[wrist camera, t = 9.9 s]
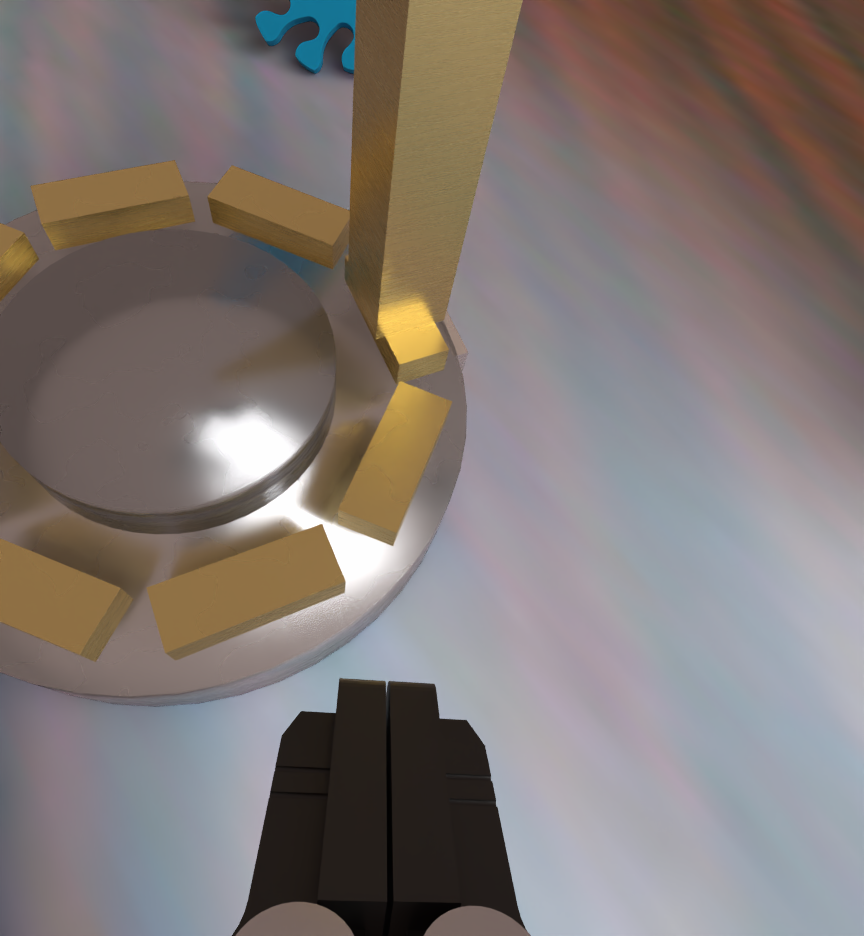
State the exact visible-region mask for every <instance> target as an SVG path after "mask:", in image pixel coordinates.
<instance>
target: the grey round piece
mask: <svg viewBox="0 0 864 936" xmlns="http://www.w3.org/2000/svg"><path fill="white" fill-rule="evenodd" d="M217 184H218V183H200V182H184V185H185V187H186V190H187V192H188V195H189V198H190V202H191V206H192V210H193V214H194V218H195V222H191V223H186V224H181V225H176V226H171V227H166V228H162V229H157V230H149V231H142V232H135V233H129V234H125V235H120V236H116V237H112V238H108V239H105V240H102V241H99V242H94V243H89V244H84V245H79V246H75V247H70V248H65V249H60V250H55V249H54V247H53V245H52V243H51V241H50V239H49V237H48V235H47V234H46V232H45V230H44V228H43V226H42V224H41V221H40V217H39V214H38V210H36V211H34V212H32V213H29V214H27V215H24V216H22V217H20V218H17V219H15V220H13V221H11V222H9V223H8V224H6V226H9V227H11V228H14V229H16V230H19V231H21V232H24V233H25V235H26V237H27V239H28V240H29V242H30V244H31V246H32V247H33V249H34V251H35V253H36V254H37V256H38V258H39V260H38V261H37V262H36V263H35V264H34V265H33V266H32V267H31V269H30V270H29V271H28V272H27V273H26V274H25V275H24V276H23V277H22V278H21V280H20V281H19V282H18V283H17V284H16V285H15V286H14V287H13V288H12V289H11V291H10V292H9V293H8V294H7V295H6V296H5V297H4V298H3V299H2V300H1V301H0V538H1V539H3V540H6V541H8V542H11V543H13V544H15V545H18V546H20V547H23V548H25V549H28V550H30V551H32V552H35V553H37V554H40V555H42V556H44V557H47V558H49V559H52V560H54V561H57V562H59V563H61V564H64V565H66V566H69V567H71V568H74V569H76V570H78V571H81V572H83V573H86V574H88V575H91V576H93V577H95V578H98V579H100V580H103V581H105V582H108V583H110V584H112V585H115V586H117V587H120V588H121V589H123V590H124V591H125V592H126V593H127V594H128V595H129V596H131V597H132V598H133V599H134V600H133V601H132V603H131V604H130V606H129V608H128V609H127V611H126V613H125V614H124V616H123V618H122V619H121V621H120V623H119V624H118V626H117V628H116V629H115V631H114V633H113V634H112V636H111V638H110V639H109V641H108V643H107V644H106V646H105V648H104V649H103V651H102V653H101V654H100V656H99V658H98V659H97V661H96V662H94V661H92V660H89V659H87V658H84V657H82V656H80V655H77V654H75V653H72V652H70V651H68V650H65V649H63V648H60V647H58V646H56V645H53V644H51V643H48V642H46V641H44V640H41V639H39V638H36V637H34V636H32V635H29V634H27V633H24V632H22V631H20V630H17V629H15V628H12V627H10V626H8V625H5V624H3V623H0V672H1V673H4V674H7V675H9V676H12V677H15V678H18V679H21V680H23V681H26V682H29V683H32V684H35V685H38V686H42V687H45V688H49V689H52V690H55V691H59V692H62V693H65V694H69V695H72V696H76V697H81V698H86V699H91V700H96V701H101V702H106V703H111V704H122V705H138V706H154V707H157V706H172V705H186V704H199V703H204V702H209V701H214V700H218V699H223V698H228V697H233V696H238V695H242V694H245V693H248V692H251V691H254V690H257V689H260V688H262V687H265V686H268V685H271V684H274V683H277V682H280V681H282V680H284V679H286V678H288V677H290V676H292V675H294V674H296V673H298V672H300V671H303V670H305V669H307V668H309V667H311V666H313V665H315V664H317V663H318V662H320V661H321V660H323V659H324V658H326V657H327V656H329V655H330V654H332V653H334V652H335V651H337V650H338V649H340V648H341V647H343V646H344V645H346V644H347V643H349V642H350V641H351V640H352V639H353V638H355V637H356V636H357V635H358V634H359V633H361V632H362V631H363V630H364V629H365V628H366V627H368V626H369V625H370V624H371V623H372V622H373V621H375V620H376V619H377V618H378V617H379V616H380V615H381V614H382V612H383V611H384V610H385V609H386V608H387V607H388V606H389V605H390V604H391V603H392V601H393V600H394V599H395V598H396V597H397V596H398V595H399V594H400V593H401V591H402V590H403V589H404V587H405V586H406V584H407V583H408V581H409V580H410V578H411V577H412V575H413V574H414V573H415V571H416V570H417V568H418V567H419V565H420V564H421V562H422V560H423V558H424V556H425V554H426V552H427V550H428V548H429V546H430V544H431V542H432V540H433V538H434V536H435V534H436V532H437V530H438V527H439V525H440V523H441V520H442V518H443V516H444V513H445V511H446V509H447V506H448V504H449V501H450V498H451V496H452V493H453V490H454V487H455V484H456V481H457V478H458V475H459V472H460V467H461V462H462V456H463V451H464V445H465V439H466V413H467V405H466V397H465V388H464V380H463V374H462V370H463V367H464V364H465V361H466V357H467V354H468V351H467V349H466V347H465V345H464V343H463V341H462V339H461V338H460V336H459V334H458V332H457V330H456V328H455V326H454V324H453V322H452V320H451V318H450V316H449V314H448V312H447V310H446V314H445V319H444V320H443V321H440V322H436V323H435V324H436V326H437V328H438V330H439V332H440V333H441V335H442V337H443V339H444V341H445V343H446V345H447V346H448V348H449V352H448V356H447V359H446V363H445V367H444V370H442V371H439V372H435V373H432V374H429V375H426V376H423V377H419V378H416V379H413V380H410V381H406V382H404V383H407V384H409V385H412V386H414V387H417V388H419V389H422V390H424V391H427V392H429V393H432V394H434V395H437V396H440V397H442V398H445V399H447V400H450V401H452V404H451V408H450V411H449V414H448V417H447V420H446V422H445V425H444V427H443V430H442V432H441V434H440V437H439V439H438V441H437V444H436V446H435V448H434V451H433V453H432V456H431V458H430V460H429V463H428V465H427V467H426V470H425V472H424V474H423V477H422V479H421V482H420V484H419V486H418V489H417V491H416V493H415V496H414V498H413V500H412V503H411V505H410V508H409V510H408V512H407V515H406V517H405V519H404V522H403V524H402V527H401V529H400V531H399V534H398V536H397V538H396V541H395V543H394V545H393V546H391V545H388V544H386V543H383V542H381V541H378V540H376V539H373V538H371V537H368V536H366V535H364V534H361V533H359V532H356V531H354V530H351V529H349V528H346V527H344V526H341V525H339V524H338V509H339V507H340V505H341V503H342V500H343V498H344V496H345V494H346V492H347V490H348V488H349V486H350V484H351V482H352V480H353V478H354V475H355V473H356V471H357V469H358V467H359V465H360V463H361V461H362V459H363V457H364V455H365V453H366V450H367V448H368V446H369V444H370V442H371V440H372V438H373V436H374V434H375V432H376V430H377V428H378V425H379V423H380V421H381V419H382V417H383V415H384V413H385V411H386V409H387V407H388V405H389V403H390V401H391V398H392V396H393V394H394V392H395V390H396V388H397V386H398V384H397V385H396V383H395V381H394V379H393V377H392V375H391V373H390V371H389V369H388V367H387V365H386V363H385V361H384V359H383V357H382V355H381V353H380V351H379V349H378V347H377V345H376V343H375V341H374V339H373V337H372V334H371V332H370V330H369V328H368V326H367V324H366V322H365V320H364V318H363V316H362V314H361V312H360V310H359V308H358V306H357V304H356V302H355V300H354V298H353V296H352V294H351V292H350V290H349V288H348V286H347V284H346V282H345V280H344V276H345V256H346V255H349V244H348V245H347V247H346V249H345V250H344V252H343V254H342V255H341V257H340V258H339V260H338V262H337V263H336V265H335V267H334V268H333V269H330V268H328V267H325V266H323V265H320V264H318V263H315V262H312V261H310V260H307V259H305V258H302V257H300V256H297V255H294V254H292V253H289V252H287V251H284V250H282V249H279V248H276V247H274V246H271V245H269V244H266V243H264V242H261V241H259V240H256V239H253V238H251V237H248V236H246V235H243V234H241V233H238V232H235V231H233V230H230V229H228V228H225V227H223V226H220V225H217V224H215V223H213V221H212V216H211V211H210V207H209V202H208V198H207V196H208V195H209V194H210V193H211V191H212V190H213V189H214V187H215V186H216V185H217ZM319 524H323V527H324V529H325V532H326V534H327V537H328V539H329V541H330V544H331V546H332V549H333V551H334V554H335V556H336V559H337V561H338V564H339V566H340V569H341V571H342V574H343V576H344V578H345V581H346V584H345V593H343V594H340V595H338V596H335V597H333V598H330V599H328V600H325V601H323V602H320V603H318V604H315V605H313V606H310V607H308V608H305V609H303V610H300V611H298V612H295V613H293V614H290V615H288V616H285V617H283V618H280V619H278V620H276V621H273V622H271V623H268V624H266V625H263V626H261V627H258V628H256V629H253V630H251V631H248V632H246V633H243V634H241V635H238V636H236V637H233V638H231V639H228V640H226V641H223V642H221V643H218V644H216V645H213V646H211V647H209V648H206V649H204V650H201V651H199V652H196V653H194V654H191V655H189V656H186V657H184V658H181V659H179V660H176V661H175V660H174V659H173V658H171V657H170V656H168V655H167V654H166V653H165V651H164V648H163V644H162V641H161V637H160V634H159V630H158V627H157V623H156V620H155V616H154V613H153V609H152V606H151V602H150V599H149V595H148V592H147V587H150V586H152V585H155V584H158V583H161V582H163V581H166V580H169V579H171V578H174V577H177V576H180V575H182V574H185V573H188V572H191V571H193V570H196V569H199V568H202V567H204V566H207V565H210V564H213V563H215V562H218V561H221V560H224V559H226V558H229V557H232V556H234V555H237V554H240V553H243V552H245V551H248V550H251V549H254V548H256V547H259V546H262V545H265V544H267V543H270V542H273V541H276V540H278V539H281V538H284V537H286V536H289V535H292V534H295V533H297V532H300V531H303V530H306V529H308V528H311V527H314V526H317V525H319Z"/></svg>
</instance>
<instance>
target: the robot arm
mask: <svg viewBox="0 0 864 936" xmlns="http://www.w3.org/2000/svg"><path fill="white" fill-rule="evenodd" d="M232 936H530V934H529V933H528V932H527V930H526V929H525V926H524V924H523V922H522V919H521V917H520V913H519V910H518V906H517V901H516V896H515V891H514V887H513V882H512V877H511V872H510V867H509V862H508V857H507V852H506V847H505V842H504V837H503V832H502V827H501V823H500V818H499V813H498V808H497V807H496V798H495V793H494V788H493V783H492V781H491V773H490V768H489V764H488V759H487V754H486V749H485V745H484V744H483V742H482V741H481V740H480V738H479V737H478V735H477V734H476V733H475V731H474V730H473V728H472V727H471V726H470V724H469V723H468V721H467V720H453V719H440V718H439V710H438V702H437V693H436V687H435V684H427V683H411V682H395V681H389V682H388V686H387V693H386V683H385V681H375V680H359V679H343V678H340V679H339V689H338V699H337V709H336V713H323V712H305V711H301V712H300V713H299V715H298V716H297V717H296V718H295V720H294V721H293V722H292V723H291V725H290V726H289V727H288V729H287V730H286V731H285V732H284V734H283V735H282V738H281V742H280V747H279V752H278V757H277V762H276V768H275V772H274V777H273V781H272V786H271V791H270V798H269V801H268V806H267V811H266V815H265V820H264V825H263V830H262V835H261V840H260V845H259V850H258V854H257V859H256V864H255V869H254V874H253V879H252V884H251V889H250V893H249V898H248V902H247V906H246V909H245V912H244V915H243V917H242V919H241V921H240V924H239V925H238V927H237V928H236V930H235V932H234V933H233V935H232Z"/></svg>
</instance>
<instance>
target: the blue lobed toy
mask: <svg viewBox="0 0 864 936" xmlns="http://www.w3.org/2000/svg"><path fill="white" fill-rule="evenodd" d="M289 1H290V2H291V5H290V9H289V11H288V12H287V13H286V14H284V15H278V14H275V13H273V12H270V11H261V12H260V13H258V14H257V15H256V17H255V19H256V23H257V26H258V28H259V30H260V32H261V34H262V36H263V38H264V39H265V41H266V42H267V44H268V45H269V46H274V45H276V44H278V43H279V42H280V41H281V39H282V37H283V35H284V34H285V33H286V32H287V31H288V30H289V29H290V28H291V27H293V26H295V25H297V24H300V23H304V22H309V21H311V22H314V23H316V24H317V25H318V26H319V28H320V31H319V34H318V36H317V37H316V38H315V39H313V40H310V41H305V42H302V43H301V44H300V45H299V46H298V47H297V49H296V54H295V56H296V58H297V60H298V61H299V63H300V64H301V65H302V66H303V67H304V68H306V69H307V70H309V71H311V72H313V73H315V74H316V73H318V72H319V71H320V70H321V68H322V65H323V54H324V50H325V47H326V44H327V42H328V41H329V39H330V38H331V37H332V35H333V34H334V33H335V32H336V31H337V30H338V29H339V28H342V27H345V28H348V29H350V30H351V31H352V33H353V35H354V38H353V41H352V42H351V44H350V45H349V46H348V47H347V48H346V49H345V50H344V52H343V54H342V64H343V68H344V71H346V72H349V73H353V74H354V56H355V23H356V0H289Z"/></svg>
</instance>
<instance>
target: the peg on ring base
mask: <svg viewBox="0 0 864 936" xmlns="http://www.w3.org/2000/svg"><path fill="white" fill-rule="evenodd" d="M521 4H522V0H356V23H355V56H354V90H353V123H352V156H351V189H350V211H349V210H346V209H344V208H341V207H339V206H336V205H334V204H331V203H328V202H326V201H323V200H321V199H318V198H315V197H313V196H310V195H308V194H305V193H302V192H300V191H297V190H295V189H292V188H289V187H287V186H284V185H282V184H279V183H277V182H274V181H271V180H269V179H266V178H264V177H261V176H258V175H256V174H253V173H251V172H248V171H245V170H243V169H240V168H238V167H235V166H231V167H230V168H229V170H228V171H227V172H226V174H225V175H224V176H223V177H222V179H221V180H220V181H219V182H218V184H217V185H216V186H215V187H214V189H213V190H212V191H211V193H210V194H209V195H208V196H207V198H208V202H209V207H210V211H211V216H212V221H213V223H215V224H217V225H220V226H223V227H225V228H228V229H230V230H233V231H235V232H238V233H241V234H243V235H246V236H248V237H251V238H253V239H256V240H259V241H261V242H264V243H266V244H269V245H271V246H274V247H276V248H279V249H282V250H284V251H287V252H289V253H292V254H294V255H297V256H300V257H302V258H305V259H307V260H310V261H312V262H315V263H318V264H320V265H323V266H325V267H328V268H330V269H333V268H334V267H335V265H336V263H337V262H338V260H339V258H340V257H341V255H342V254H343V252H344V250H345V249H346V247H347V245H348V244H349V255H346V256H345V276H344V280H345V282H346V284H347V286H348V288H349V290H350V292H351V294H352V296H353V298H354V300H355V302H356V304H357V306H358V308H359V310H360V312H361V314H362V316H363V318H364V320H365V322H366V324H367V326H368V328H369V330H370V332H371V334H372V337H373V339H374V341H375V343H376V345H377V347H378V349H379V351H380V353H381V355H382V357H383V359H384V361H385V363H386V365H387V367H388V369H389V371H390V373H391V375H392V377H393V379H394V381H395V383H396V385H397V384H398V386H397V388H396V390H395V392H394V394H393V396H392V398H391V401H390V403H389V405H388V407H387V409H386V411H385V413H384V415H383V417H382V419H381V421H380V423H379V425H378V428H377V430H376V432H375V434H374V436H373V438H372V440H371V442H370V444H369V446H368V448H367V450H366V453H365V455H364V457H363V459H362V461H361V463H360V465H359V467H358V469H357V471H356V473H355V475H354V478H353V480H352V482H351V484H350V486H349V488H348V490H347V492H346V494H345V496H344V498H343V500H342V503H341V505H340V507H339V509H338V524H339V525H341V526H344V527H346V528H349V529H351V530H354V531H356V532H359V533H361V534H364V535H366V536H368V537H371V538H373V539H376V540H378V541H381V542H383V543H386V544H388V545H391V546H393V545H394V543H395V541H396V538H397V536H398V534H399V531H400V529H401V527H402V524H403V522H404V519H405V517H406V515H407V512H408V510H409V508H410V505H411V503H412V500H413V498H414V496H415V493H416V491H417V489H418V486H419V484H420V482H421V479H422V477H423V474H424V472H425V470H426V467H427V465H428V463H429V460H430V458H431V456H432V453H433V451H434V448H435V446H436V444H437V441H438V439H439V437H440V434H441V432H442V430H443V427H444V425H445V422H446V420H447V417H448V414H449V411H450V408H451V404H452V401H450V400H447V399H445V398H442V397H440V396H437V395H434V394H432V393H429V392H427V391H424V390H422V389H419V388H417V387H414V386H412V385H409V384H407V383H404V382H406V381H410V380H413V379H416V378H419V377H423V376H426V375H429V374H432V373H435V372H439V371H442V370H444V367H445V363H446V359H447V356H448V352H449V348H448V346H447V345H446V343H445V341H444V339H443V337H442V335H441V333H440V332H439V330H438V328H437V326H436V324H435V323H436V322H440V321H443V320H444V319H445V314H446V310H447V306H448V302H449V298H450V294H451V290H452V286H453V282H454V278H455V274H456V270H457V266H458V261H459V257H460V253H461V249H462V245H463V241H464V237H465V233H466V229H467V225H468V221H469V217H470V212H471V208H472V204H473V200H474V196H475V192H476V188H477V184H478V180H479V176H480V172H481V168H482V164H483V159H484V155H485V151H486V147H487V143H488V139H489V135H490V131H491V127H492V123H493V119H494V115H495V111H496V106H497V102H498V98H499V94H500V90H501V86H502V82H503V78H504V74H505V70H506V66H507V62H508V57H509V53H510V49H511V45H512V41H513V37H514V33H515V29H516V25H517V21H518V17H519V13H520V9H521ZM31 190H32V193H33V196H34V200H35V203H36V207H37V210H38V214H39V217H40V221H41V224H42V226H43V228H44V230H45V232H46V234H47V235H48V237H49V239H50V241H51V243H52V245H53V247H54V249H55V250H60V249H65V248H70V247H75V246H79V245H84V244H89V243H94V242H99V241H102V240H105V239H108V238H112V237H116V236H120V235H125V234H129V233H135V232H142V231H149V230H157V229H162V228H166V227H171V226H176V225H181V224H186V223H191V222H195V218H194V214H193V210H192V206H191V202H190V198H189V195H188V192H187V190H186V187H185V185H184V182H183V180H182V177H181V175H180V172H179V170H178V167H177V165H176V162H175V160H173V161H168V162H162V163H156V164H151V165H145V166H140V167H134V168H128V169H123V170H117V171H111V172H106V173H100V174H94V175H89V176H83V177H78V178H72V179H66V180H61V181H55V182H49V183H44V184H38V185H33V186H31ZM38 260H39V258H38V256H37V254H36V253H35V251H34V249H33V247H32V246H31V244H30V242H29V240H28V239H27V237H26V235H25V233H24V232H21V231H19V230H16V229H14V228H11V227H9V226H6V225H4V224H1V223H0V301H1V300H2V299H3V298H4V297H5V296H6V295H7V294H8V293H9V292H10V291H11V289H12V288H13V287H14V286H15V285H16V284H17V283H18V282H19V281H20V280H21V278H22V277H23V276H24V275H25V274H26V273H27V272H28V271H29V270H30V269H31V267H32V266H33V265H34V264H35V263H36V262H37V261H38ZM345 584H346V581H345V578H344V576H343V574H342V571H341V569H340V566H339V564H338V561H337V559H336V556H335V554H334V551H333V549H332V546H331V544H330V541H329V539H328V537H327V534H326V532H325V529H324V527H323V524H319V525H317V526H314V527H311V528H308V529H306V530H303V531H300V532H297V533H295V534H292V535H289V536H286V537H284V538H281V539H278V540H276V541H273V542H270V543H267V544H265V545H262V546H259V547H256V548H254V549H251V550H248V551H245V552H243V553H240V554H237V555H234V556H232V557H229V558H226V559H224V560H221V561H218V562H215V563H213V564H210V565H207V566H204V567H202V568H199V569H196V570H193V571H191V572H188V573H185V574H182V575H180V576H177V577H174V578H171V579H169V580H166V581H163V582H161V583H158V584H155V585H152V586H150V587H147V592H148V595H149V599H150V602H151V606H152V609H153V613H154V616H155V620H156V623H157V627H158V630H159V634H160V637H161V641H162V644H163V648H164V651H165V653H166V654H167V655H168V656H170V657H171V658H173V659H174V660H175V661H176V660H179V659H181V658H184V657H186V656H189V655H191V654H194V653H196V652H199V651H201V650H204V649H206V648H209V647H211V646H213V645H216V644H218V643H221V642H223V641H226V640H228V639H231V638H233V637H236V636H238V635H241V634H243V633H246V632H248V631H251V630H253V629H256V628H258V627H261V626H263V625H266V624H268V623H271V622H273V621H276V620H278V619H280V618H283V617H285V616H288V615H290V614H293V613H295V612H298V611H300V610H303V609H305V608H308V607H310V606H313V605H315V604H318V603H320V602H323V601H325V600H328V599H330V598H333V597H335V596H338V595H340V594H343V593H345ZM133 600H134V599H133V598H132V597H131V596H129V595H128V594H127V593H126V592H125V591H124V590H123V589H121V588H120V587H117V586H115V585H112V584H110V583H108V582H105V581H103V580H100V579H98V578H95V577H93V576H91V575H88V574H86V573H83V572H81V571H78V570H76V569H74V568H71V567H69V566H66V565H64V564H61V563H59V562H57V561H54V560H52V559H49V558H47V557H44V556H42V555H40V554H37V553H35V552H32V551H30V550H28V549H25V548H23V547H20V546H18V545H15V544H13V543H11V542H8V541H6V540H3V539H1V538H0V623H3V624H5V625H8V626H10V627H12V628H15V629H17V630H20V631H22V632H24V633H27V634H29V635H32V636H34V637H36V638H39V639H41V640H44V641H46V642H48V643H51V644H53V645H56V646H58V647H60V648H63V649H65V650H68V651H70V652H72V653H75V654H77V655H80V656H82V657H84V658H87V659H89V660H92V661H94V662H96V661H97V659H98V658H99V656H100V654H101V653H102V651H103V649H104V648H105V646H106V644H107V643H108V641H109V639H110V638H111V636H112V634H113V633H114V631H115V629H116V628H117V626H118V624H119V623H120V621H121V619H122V618H123V616H124V614H125V613H126V611H127V609H128V608H129V606H130V604H131V603H132V601H133Z"/></svg>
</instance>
